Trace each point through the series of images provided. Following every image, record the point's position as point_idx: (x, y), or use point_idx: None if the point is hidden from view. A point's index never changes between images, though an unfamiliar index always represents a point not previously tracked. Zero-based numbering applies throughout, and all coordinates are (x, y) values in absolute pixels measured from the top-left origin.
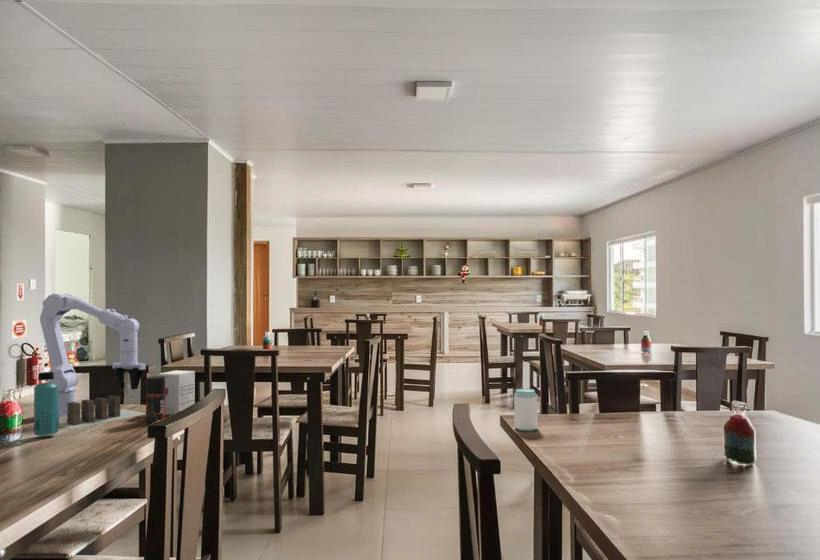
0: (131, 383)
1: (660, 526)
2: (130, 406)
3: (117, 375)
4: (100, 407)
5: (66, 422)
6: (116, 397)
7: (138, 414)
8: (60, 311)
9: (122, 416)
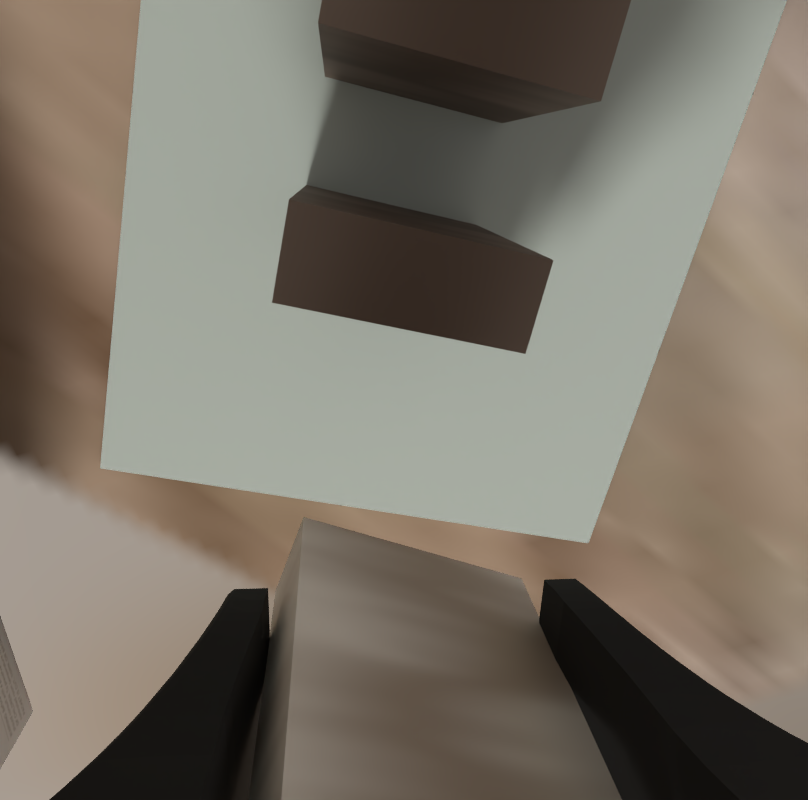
0: (222, 657)
1: None
2: None
3: (767, 765)
4: None
5: None
6: (284, 227)
7: (169, 401)
8: None
9: (257, 253)
